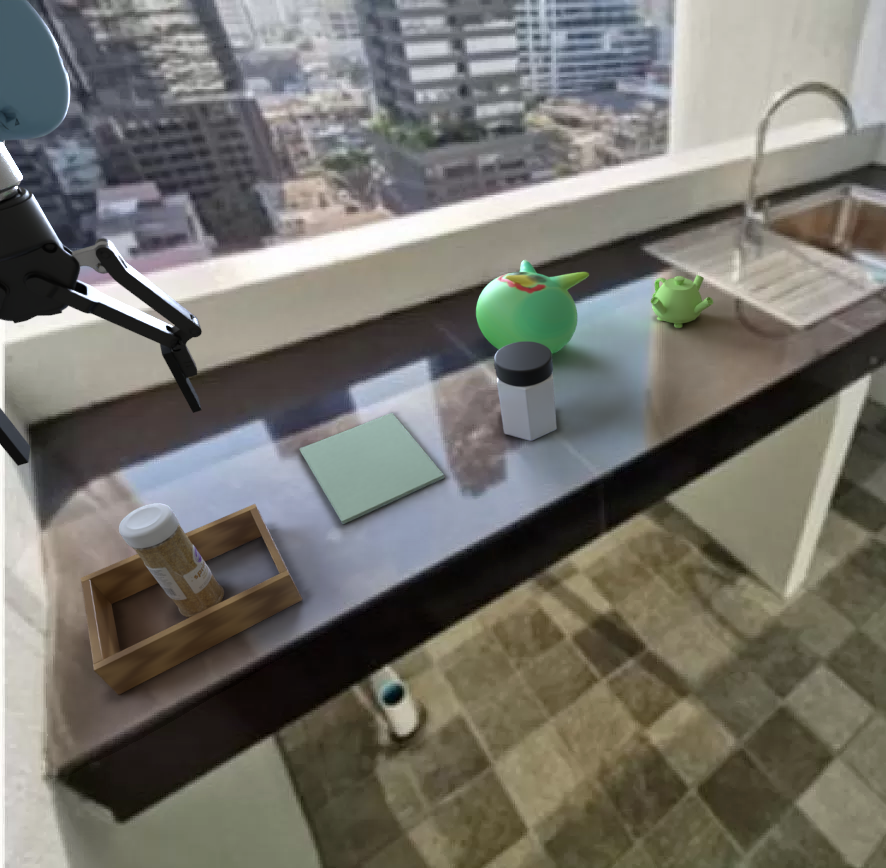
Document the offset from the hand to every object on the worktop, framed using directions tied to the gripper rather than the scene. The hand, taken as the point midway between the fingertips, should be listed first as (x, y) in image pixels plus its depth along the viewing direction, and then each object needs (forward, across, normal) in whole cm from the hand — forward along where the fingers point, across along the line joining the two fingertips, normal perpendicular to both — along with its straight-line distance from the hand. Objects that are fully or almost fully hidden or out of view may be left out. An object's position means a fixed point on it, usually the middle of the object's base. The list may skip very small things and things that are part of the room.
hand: (114, 429), depth 56 cm
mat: (+21, -22, -9) cm, 32 cm away
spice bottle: (+22, +1, +4) cm, 22 cm away
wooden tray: (+22, +1, +4) cm, 22 cm away
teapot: (+21, -84, -16) cm, 89 cm away
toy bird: (+22, -56, -24) cm, 64 cm away
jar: (+22, -45, -4) cm, 50 cm away
